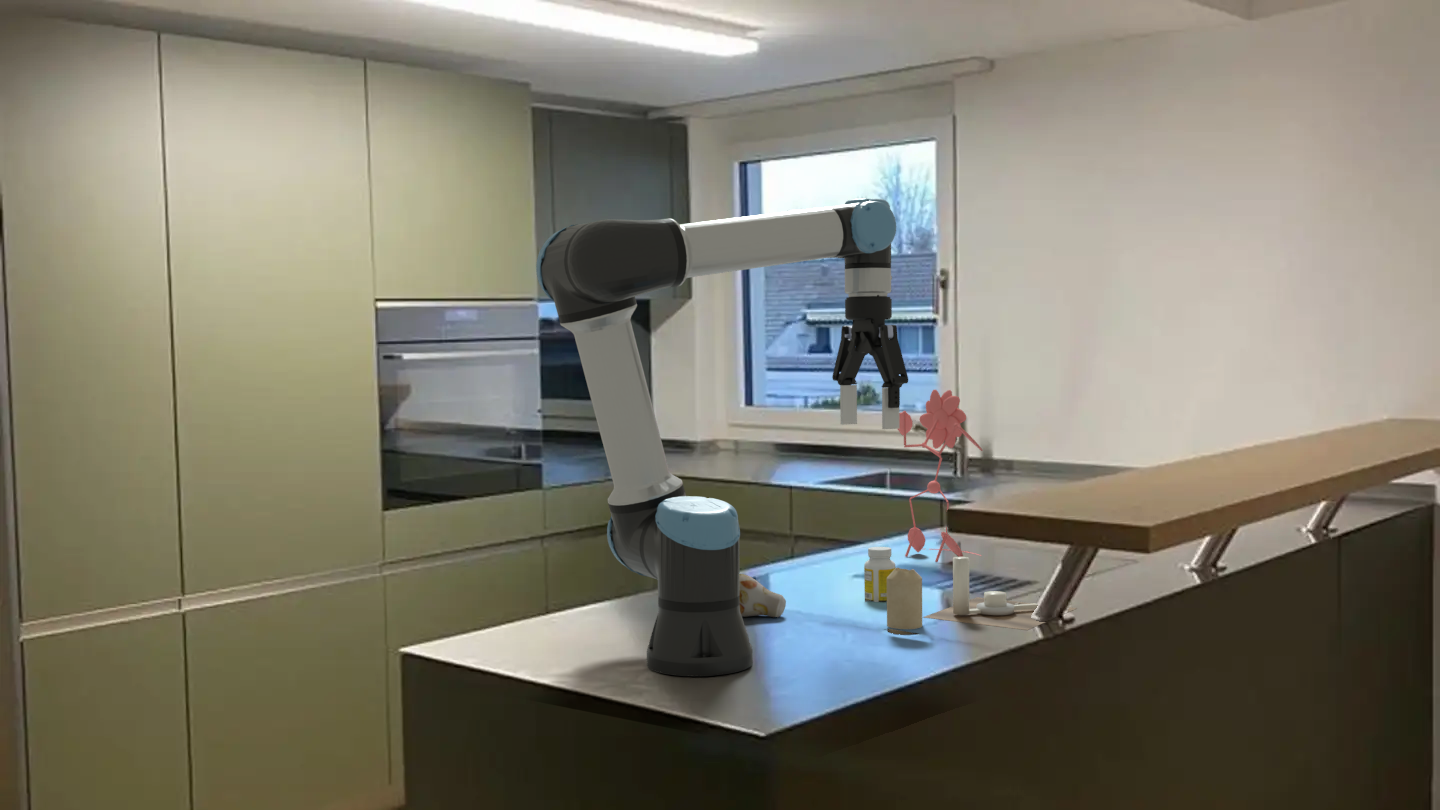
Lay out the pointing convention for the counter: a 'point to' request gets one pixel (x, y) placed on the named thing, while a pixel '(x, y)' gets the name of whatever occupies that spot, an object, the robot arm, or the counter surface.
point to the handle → (992, 600)
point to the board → (992, 616)
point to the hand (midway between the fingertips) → (869, 426)
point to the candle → (904, 601)
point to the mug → (758, 599)
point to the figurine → (936, 453)
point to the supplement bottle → (877, 573)
